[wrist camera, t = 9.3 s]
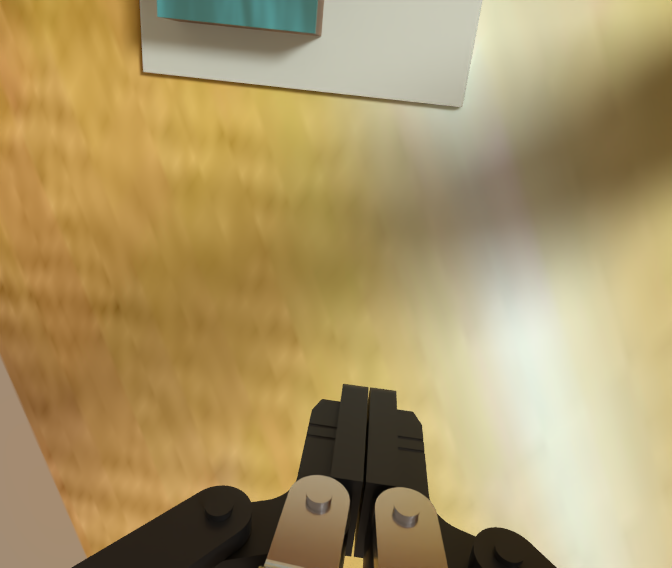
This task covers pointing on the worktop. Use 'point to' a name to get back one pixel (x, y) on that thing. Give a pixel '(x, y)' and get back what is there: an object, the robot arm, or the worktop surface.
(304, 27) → the teal and brown block
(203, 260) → the worktop surface
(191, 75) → the sage mat
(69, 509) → the worktop surface
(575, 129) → the worktop surface
